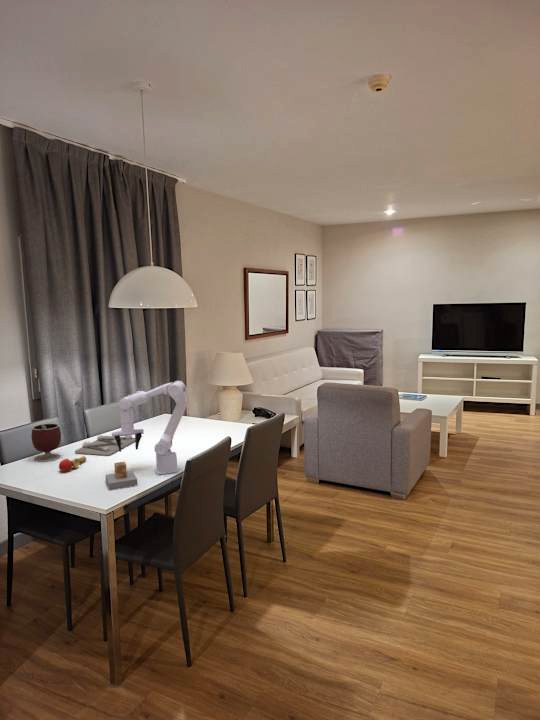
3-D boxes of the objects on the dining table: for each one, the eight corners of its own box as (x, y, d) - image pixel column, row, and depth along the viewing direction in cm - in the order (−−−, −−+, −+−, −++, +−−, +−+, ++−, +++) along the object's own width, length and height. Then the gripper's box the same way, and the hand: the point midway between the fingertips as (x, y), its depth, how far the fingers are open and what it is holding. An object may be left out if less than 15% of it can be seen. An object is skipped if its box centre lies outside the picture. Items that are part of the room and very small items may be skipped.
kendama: (75, 464, 256) (53, 470, 238) (77, 451, 256) (55, 457, 238) (88, 467, 254) (67, 474, 237) (91, 455, 254) (70, 461, 236)
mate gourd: (36, 455, 265) (33, 418, 263) (64, 453, 269) (61, 417, 266) (29, 465, 250) (27, 426, 248) (59, 462, 254) (57, 424, 251)
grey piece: (104, 439, 297) (104, 427, 296) (137, 441, 292) (137, 429, 291) (73, 454, 268) (72, 441, 267) (109, 457, 263) (108, 444, 262)
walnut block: (125, 474, 227) (124, 461, 226) (126, 477, 223) (126, 464, 222) (114, 475, 225) (114, 463, 224) (116, 479, 221) (115, 466, 220)
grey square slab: (132, 477, 232) (132, 470, 231) (137, 485, 221) (137, 479, 221) (105, 481, 227) (105, 474, 226) (109, 490, 216) (108, 483, 216)
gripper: (141, 418, 244) (142, 445, 245) (110, 422, 238) (111, 449, 239) (144, 421, 237) (145, 449, 239) (112, 425, 231) (113, 453, 233)
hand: (128, 450), depth 239 cm, fingers open, 7 cm apart
